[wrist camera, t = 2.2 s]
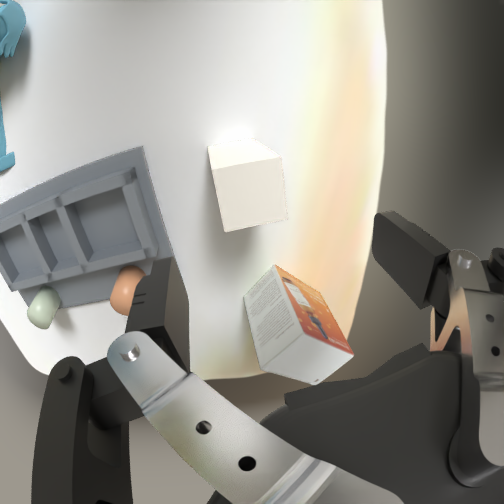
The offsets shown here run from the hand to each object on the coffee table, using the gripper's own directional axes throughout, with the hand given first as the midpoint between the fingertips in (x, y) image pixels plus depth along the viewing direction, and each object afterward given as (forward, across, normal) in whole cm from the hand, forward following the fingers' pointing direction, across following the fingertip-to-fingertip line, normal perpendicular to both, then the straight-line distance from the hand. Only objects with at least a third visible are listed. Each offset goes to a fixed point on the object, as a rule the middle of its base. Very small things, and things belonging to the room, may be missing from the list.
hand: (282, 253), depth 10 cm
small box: (+16, -3, +16) cm, 23 cm away
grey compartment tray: (+16, +18, +4) cm, 24 cm away
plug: (+16, 0, 0) cm, 16 cm away
